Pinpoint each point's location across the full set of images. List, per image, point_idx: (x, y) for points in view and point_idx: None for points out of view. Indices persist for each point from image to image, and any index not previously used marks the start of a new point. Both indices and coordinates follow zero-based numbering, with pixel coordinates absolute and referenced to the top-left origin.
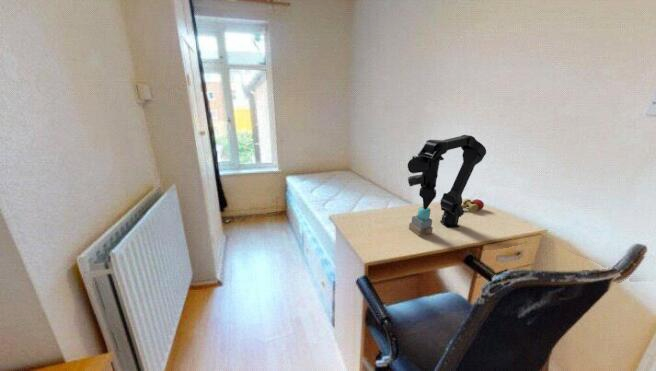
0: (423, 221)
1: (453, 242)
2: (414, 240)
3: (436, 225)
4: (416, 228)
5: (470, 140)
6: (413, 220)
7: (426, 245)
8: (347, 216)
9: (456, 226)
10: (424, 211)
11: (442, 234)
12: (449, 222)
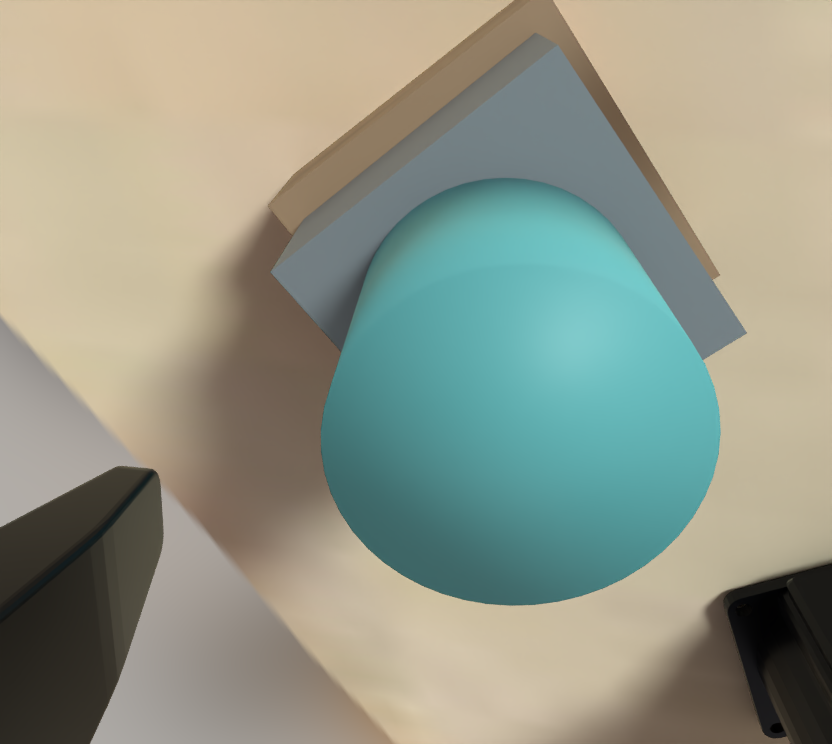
0: (322, 316)
1: (308, 600)
2: (126, 92)
3: (778, 473)
4: (348, 141)
5: None
6: (497, 78)
7: (59, 274)
8: None
9: (755, 704)
10: (325, 435)
11: None
12: (787, 669)
